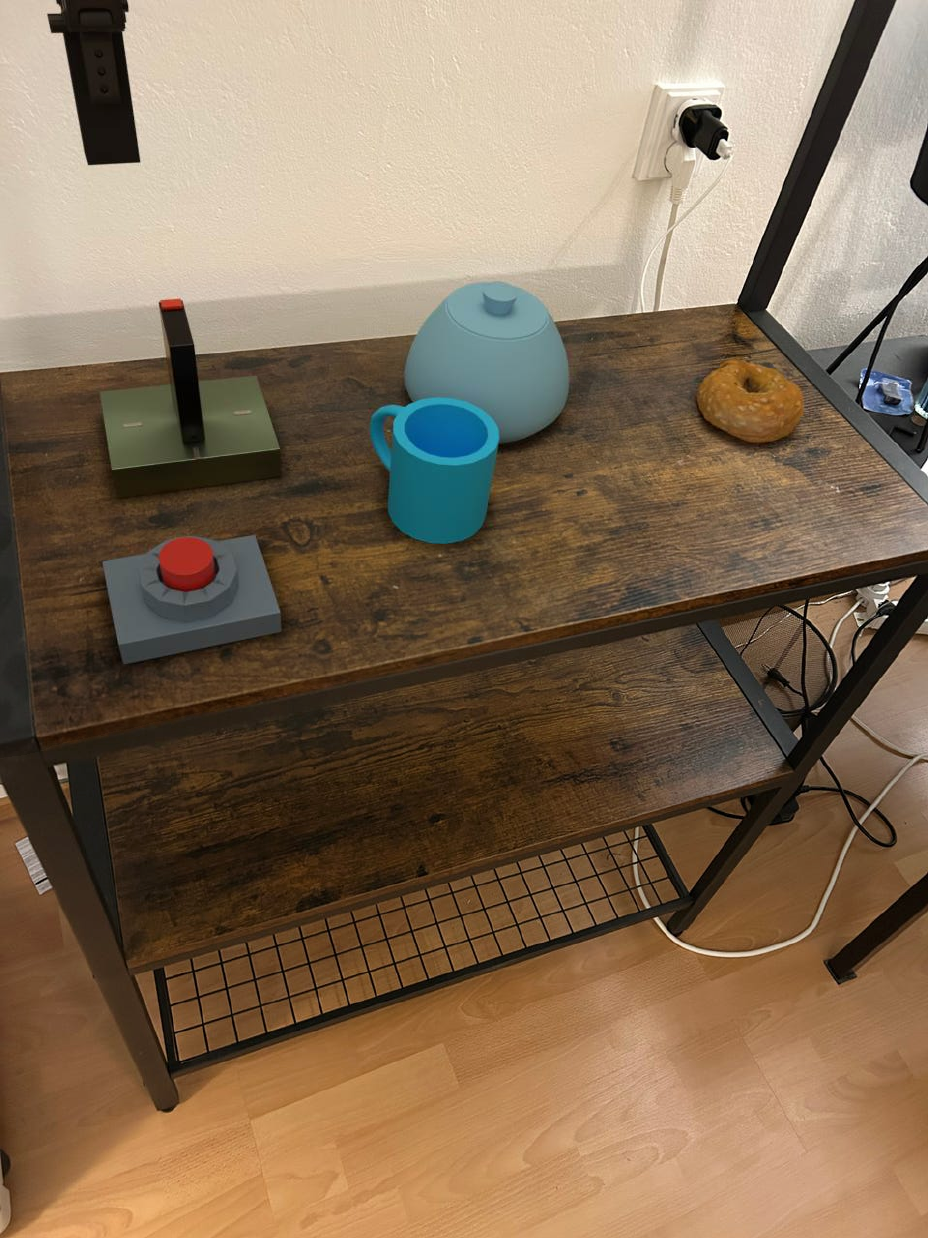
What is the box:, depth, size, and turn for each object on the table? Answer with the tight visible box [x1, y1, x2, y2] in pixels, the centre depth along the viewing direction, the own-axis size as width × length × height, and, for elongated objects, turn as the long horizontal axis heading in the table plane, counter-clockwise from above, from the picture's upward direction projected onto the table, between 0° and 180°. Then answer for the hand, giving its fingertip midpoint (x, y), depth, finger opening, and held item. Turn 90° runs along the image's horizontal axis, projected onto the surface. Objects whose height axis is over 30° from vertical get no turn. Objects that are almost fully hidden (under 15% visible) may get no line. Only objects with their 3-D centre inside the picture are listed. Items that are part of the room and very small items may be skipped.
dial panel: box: [98, 375, 282, 499], centre depth 80 cm, size 13×10×3 cm
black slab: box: [158, 298, 205, 443], centre depth 76 cm, size 6×2×9 cm, turn 19°
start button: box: [159, 536, 215, 592], centre depth 67 cm, size 4×4×2 cm
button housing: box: [101, 534, 283, 665], centre depth 69 cm, size 11×8×4 cm
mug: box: [369, 397, 499, 545], centre depth 78 cm, size 12×8×8 cm
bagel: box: [696, 358, 805, 444], centre depth 92 cm, size 10×11×5 cm
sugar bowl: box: [403, 280, 570, 445], centre depth 86 cm, size 15×15×12 cm
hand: (112, 156), depth 52 cm, fingers closed
